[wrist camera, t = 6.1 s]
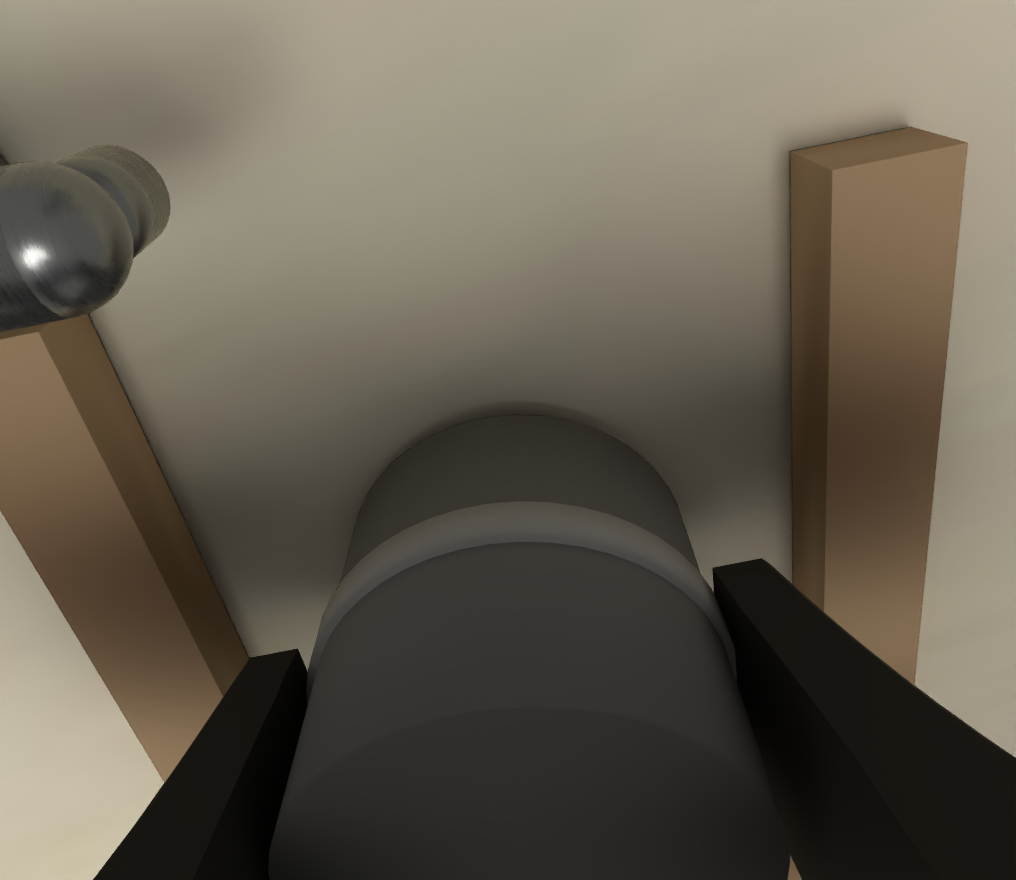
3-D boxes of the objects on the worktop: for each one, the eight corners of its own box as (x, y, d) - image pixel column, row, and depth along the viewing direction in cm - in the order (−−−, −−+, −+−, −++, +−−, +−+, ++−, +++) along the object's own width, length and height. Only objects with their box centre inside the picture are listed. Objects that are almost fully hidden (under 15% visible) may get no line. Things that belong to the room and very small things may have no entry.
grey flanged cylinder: (717, 645, 13) (825, 980, 9) (414, 710, 14) (375, 1049, 9) (655, 365, 11) (764, 638, 6) (288, 462, 11) (155, 770, 7)
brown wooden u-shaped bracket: (864, 844, 17) (893, 899, 16) (309, 948, 17) (301, 1010, 16) (910, 126, 10) (968, 142, 9) (-37, 320, 10) (-92, 358, 9)
